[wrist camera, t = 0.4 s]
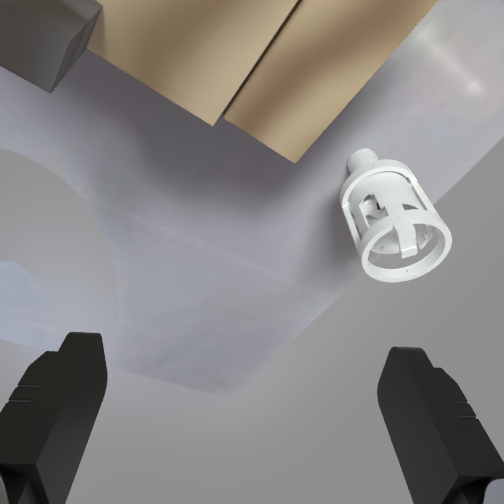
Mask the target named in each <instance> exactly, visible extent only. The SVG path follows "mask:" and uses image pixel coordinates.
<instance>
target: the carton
mask: <svg viewBox="0 0 504 504" xmlns="http://www.w3.org/2000/svg"><path fill="white" fill-rule="evenodd" d="M437 1H438V0H299V1H298V3H297V4H296V6H295V7H294V9H293V10H292V12H291V13H290V15H289V16H288V17H287V19H286V20H285V22H284V23H283V25H282V26H281V28H280V29H279V31H278V32H277V34H276V35H275V37H274V38H273V40H272V41H271V43H270V44H269V46H268V47H267V49H266V50H265V52H264V53H263V54H262V56H261V57H260V59H259V60H258V62H257V63H256V65H255V66H254V68H253V69H252V71H251V72H250V74H249V75H248V77H247V78H246V80H245V81H244V83H243V84H242V86H241V87H240V89H239V90H238V91H237V93H236V94H235V96H234V97H233V99H232V100H231V102H230V103H229V105H228V106H227V108H226V109H225V111H224V112H223V118H224V119H225V120H227V121H229V122H230V123H232V124H233V125H235V126H236V127H238V128H240V129H241V130H243V131H244V132H246V133H247V134H249V135H251V136H252V137H254V138H255V139H257V140H258V141H260V142H262V143H263V144H265V145H266V146H268V147H269V148H271V149H273V150H274V151H276V152H277V153H279V154H280V155H282V156H284V157H285V158H287V159H288V160H290V161H291V162H293V163H296V162H297V161H298V160H299V159H300V157H301V156H302V155H303V154H304V153H305V152H306V151H307V149H308V148H309V147H310V146H311V145H312V144H313V143H314V142H315V140H316V139H317V138H318V137H319V136H320V135H321V134H322V132H323V131H324V130H325V129H326V128H327V127H328V126H329V124H330V123H331V122H332V121H333V120H334V119H335V118H336V116H337V115H338V114H339V113H340V112H341V111H342V110H343V108H344V107H345V106H346V105H347V104H348V103H349V102H350V100H351V99H352V98H353V97H354V96H355V95H356V94H357V93H358V91H359V90H360V89H361V88H362V87H363V86H364V85H365V83H366V82H367V81H368V80H369V79H370V78H371V77H372V75H373V74H374V73H375V72H376V71H377V70H378V69H379V67H380V66H381V65H382V64H383V63H384V62H385V61H386V59H387V58H388V57H389V56H390V55H391V54H392V53H393V52H394V50H395V49H396V48H397V47H398V46H399V45H400V44H401V42H402V41H403V40H404V39H405V38H406V37H407V36H408V34H409V33H410V32H411V31H412V30H413V29H414V28H415V26H416V25H417V24H418V23H419V22H420V21H421V20H422V18H423V17H424V16H425V15H426V14H427V13H428V12H429V10H430V9H431V8H432V7H433V6H434V5H435V4H436V3H437Z"/></svg>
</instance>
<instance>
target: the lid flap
mask: <svg viewBox="0 0 504 504" xmlns="http://www.w3.org/2000/svg"><path fill="white" fill-rule="evenodd" d="M297 1H298V0H0V66H1V67H3V68H5V69H7V70H9V71H11V72H12V73H14V74H16V75H18V76H20V77H22V78H23V79H25V80H27V81H29V82H31V83H33V84H34V85H36V86H38V87H40V88H42V89H44V90H45V91H47V92H49V93H51V92H52V91H53V89H54V88H55V87H56V86H57V84H58V83H59V82H60V81H61V79H62V78H63V77H64V75H65V74H66V73H67V72H68V70H69V69H70V68H71V67H72V65H73V64H74V63H75V62H76V60H77V59H78V58H79V56H80V55H81V54H82V53H83V51H84V50H85V49H86V48H87V49H88V50H90V51H91V52H93V53H95V54H96V55H98V56H100V57H101V58H103V59H104V60H106V61H108V62H109V63H111V64H113V65H114V66H116V67H117V68H119V69H121V70H122V71H124V72H126V73H127V74H129V75H130V76H132V77H134V78H135V79H137V80H138V81H140V82H142V83H143V84H145V85H147V86H148V87H150V88H151V89H153V90H155V91H156V92H158V93H160V94H161V95H163V96H164V97H166V98H168V99H169V100H171V101H172V102H174V103H176V104H177V105H179V106H181V107H182V108H184V109H185V110H187V111H189V112H190V113H192V114H194V115H195V116H197V117H198V118H200V119H202V120H203V121H205V122H207V123H208V124H210V125H211V126H213V125H214V124H215V122H216V121H217V119H218V118H219V116H220V115H221V113H222V112H223V110H224V109H225V108H226V106H227V105H228V103H229V102H230V100H231V99H232V97H233V96H234V94H235V93H236V91H237V90H238V88H239V87H240V85H241V84H242V82H243V81H244V79H245V78H246V76H247V75H248V73H249V72H250V70H251V69H252V67H253V66H254V64H255V63H256V62H257V60H258V59H259V57H260V56H261V54H262V53H263V51H264V50H265V48H266V47H267V45H268V44H269V42H270V41H271V39H272V38H273V36H274V35H275V33H276V32H277V30H278V29H279V27H280V26H281V24H282V23H283V21H284V20H285V18H286V17H287V16H288V14H289V13H290V11H291V10H292V8H293V7H294V5H295V4H296V2H297Z"/></svg>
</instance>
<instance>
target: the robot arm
mask: <svg viewBox="0 0 504 504" xmlns="http://www.w3.org/2000/svg"><path fill="white" fill-rule="evenodd" d="M106 386H107V367H106V361H105V355H104V348H103V342H102V337H101V334H99V333H83V332H70V333H68V335H67V336H66V338H65V340H64V342H63V343H62V345H61V347H60V349H59V351H58V352H54V351H46V352H45V353H44V354H42V355H41V356H40V357H39V358H38V359H37V360H36V361H34V362H33V363H32V364H31V365H30V366H29V367H28V368H27V370H26V372H25V373H24V375H23V376H22V378H21V380H20V381H19V383H18V387H17V388H15V390H14V391H13V393H12V394H11V396H10V398H9V402H8V403H6V404H5V406H4V408H3V409H2V411H1V412H0V504H65V502H66V500H67V497H68V494H69V492H70V489H71V486H72V483H73V481H74V477H75V475H76V472H77V469H78V467H79V464H80V461H81V459H82V456H83V453H84V450H85V447H86V445H87V442H88V439H89V437H90V434H91V431H92V428H93V425H94V423H95V420H96V417H97V414H98V412H99V409H100V406H101V403H102V401H103V398H104V395H105V391H106ZM377 395H378V403H379V407H380V410H381V412H382V415H383V418H384V421H385V424H386V426H387V429H388V432H389V435H390V438H391V441H392V443H393V446H394V449H395V452H396V455H397V458H398V460H399V463H400V466H401V469H402V472H403V475H404V477H405V480H406V483H407V486H408V489H409V491H410V494H411V497H412V500H413V503H414V504H504V462H503V460H502V459H501V457H500V455H499V454H498V452H497V450H496V448H495V447H494V445H493V443H492V442H491V440H490V438H489V437H488V435H487V433H486V431H485V430H484V428H483V426H482V425H481V423H480V421H479V420H478V419H476V414H475V413H474V411H473V409H472V408H471V406H470V404H468V403H467V399H466V397H465V396H464V394H463V393H462V391H461V389H460V387H459V386H458V384H457V383H456V382H455V381H454V380H453V379H452V378H451V377H450V376H449V375H448V374H447V373H446V372H445V371H444V370H443V369H442V368H433V366H432V364H431V362H430V360H429V359H428V357H427V355H426V353H425V351H423V349H421V348H413V347H392V348H391V350H390V352H389V354H388V357H387V360H386V363H385V366H384V368H383V371H382V374H381V377H380V380H379V383H378V389H377Z"/></svg>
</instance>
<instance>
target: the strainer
mask: <svg viewBox="0 0 504 504" xmlns="http://www.w3.org/2000/svg"><path fill="white" fill-rule="evenodd" d="M347 167H348V169H349V172H350V174H351V175H350V176H349V177H348V178H347V180H346V181H345V183H344V184H343V186H342V189H341V192H340V204H341V207H342V210H343V213H344V216H345V219H346V221H347V224H348V227H349V230H350V232H351V235H352V238H353V241H354V244H355V246H356V249H357V252H358V255H359V258H360V260H361V263H362V266H363V268H364V270H365V272H366V273H367V274H368V275H369V276H371V277H372V278H374V279H376V280H379V281H384V282H401V281H407V280H411V279H414V278H417V277H419V276H422V275H424V274H426V273H428V272H429V271H431V270H432V269H434V268H435V267H436V266H438V265H439V264H440V263H441V262H442V261H443V260H444V258H445V257H446V256H447V254H448V252H449V250H450V248H451V244H452V236H451V233H450V231H449V229H448V228H447V226H446V225H445V223H444V222H443V221H442V219H441V218H440V217H439V215H438V213H437V212H436V211H435V209H434V207H433V206H432V204H431V202H430V201H429V199H428V198H427V196H426V195H425V193H424V191H423V190H422V188H421V187H420V185H419V184H418V182H417V179H416V178H415V176H414V175H413V173H412V171H411V170H410V169H409V168H408V167H407V166H406V165H405V164H403V163H401V162H398V161H395V160H378V158H377V156H376V154H375V153H374V152H373V151H372V150H370V149H360V150H357V151H356V152H354V153H353V154H352V155H351V156H350V157H349V159H348V162H347ZM403 174H404V175H405V176H407V177H408V178H405V177H404V176H403ZM355 225H357V226H358V229H359V232H360V234H361V237H362V239H361V240H360V237H359V234H358V232H357V229H356V227H355ZM430 225H432V226H433V227H434V229H435V231H436V232H437V234H438V235H439V241H438V243H437V245H436V247H435V248H434V249H433V251H432V252H431V253H430V254H429V255H427V256H426V257H425V258H424V259H422V260H420V261H419V262H417V263H415V264H413V265H410V266H407V267H404V268H399V269H383V268H379V267H376V266H374V265H372V264H371V263H370V262H369V261H368V255H369V252H370V250H371V251H373V252H376V253H380V254H392V253H397V252H400V255H401V257H402V258H405V257H409V256H412V255H416V254H417V247H416V243H417V244H418V246H419V248H420V249H422V248H423V247H424V246H425V245H426V244H427V242H428V241H429V239H432V238H433V234H432V232H433V230H432V228H431V227H430ZM378 247H381V248H384V249H380V248H378Z"/></svg>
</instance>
